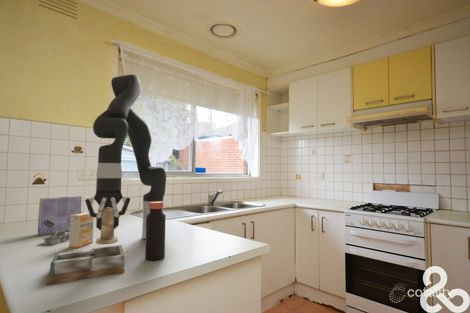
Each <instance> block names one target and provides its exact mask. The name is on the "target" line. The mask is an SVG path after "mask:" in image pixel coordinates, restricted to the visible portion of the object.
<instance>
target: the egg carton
mask: <svg viewBox="0 0 470 313" xmlns="http://www.w3.org/2000/svg"><path fill="white" fill-rule="evenodd" d="M69 234H70V232H67V233H66V232H62V231H61V230H59V231H56V232H55V233H52V234H49V235H48V236H46V237H42V240H43V245H49V244H50V245H52V246H54V245H60V244H61V243H64V242H66V241H69ZM59 243H60V244H59Z"/></svg>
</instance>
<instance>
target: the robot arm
mask: <svg viewBox="0 0 470 313" xmlns="http://www.w3.org/2000/svg"><path fill="white" fill-rule="evenodd" d="M110 83H111V88H112V92H113V94H114V98H113V99H112V100H111V101H110V103H109V104H108V106H107V109H106V110H104V111H103V112H101V113H100V114H99V115H98V116H97V117H96V118H95V120H94V122H93V124H92V125H93V126H92V130H93V134H94V135H95V136H96V137H97V138H100V139H114V140H113V142H112V143H110V144H109V143H108V144H105V145H101V146H99V148H98V153H97V154H98V157H97V158H98V160H97V169H96V175H95V176H96V183H95V184H96V186H95V187H96V188H95V191H96V192H95V194H94V196H92V197H89V198H86V199H85V206H86V207H87V210H88V213H90V216H91V217H94V219H95V218H96V219H95V220H96V223H95V224H96V225H95V227H96V229H98V231H101V214H102V211H103V208H107V207H110V208H113V210H114V213H115V217H114V230H115V229H117V227H119V224H120V223H119V222H120V217H121V216H123V215H125V214H126V212H127V209H128V207H129V203H130V201H131V197H129V196H124V195H123V193H122V177H123V171H122V169H123V168H122V153H123V147H124V144H125V140H126V137H127V135H128V138H129V142H130V144H131V147H132V150H133V154H134V157H135V162H136V167H137V172H138V176H139V180H140V182H141V184H143V185H144V186H146V187H147V186H148V187H150V190H149V192H147V193H145V194H143V196H142V199H143V200H142V226H141V228H142V229H141V231H142V232H141V236H142V237H141V239H143V240H146V217H147V215H148V214H149V213H150V210H149V203H150V202H156V201H159V202H163V203H164V198H165V193H166V184H167V183H166V182H167V173H166V171H165V169H164V168H163V166H162V167H161V166H152V164H151V162H150V157H149V155H150V154H149V153H150V150H151V145H152V135H151V131H150V128H149V125H148V124H147V122H146V121H145V120H144V119H143V118H142V117H141V116H140V115H139V114H138V113H137V112H135V111H134V109H133V108H132V106H133V105H134V103H135V102H136V101H137V100H138V98H139V97H140V95H141V93H142V89H143V88H142V83H141V80H140V79H139V77H138V76H137V75H136V74H125V75H120V76H115V77H113V78H111V82H110ZM94 201H95V202H96V203H97V204H98V205H99V207H98V210H97V212H95V211H94V207H93V204H94ZM120 201H122V203H123V205H122V207H121V210H120V211H119V210H118V206H117V205H118V204H119V203H120ZM162 209H163V210H162V212H163V213H164V207H163V208H162Z"/></svg>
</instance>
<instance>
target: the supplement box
mask: <svg viewBox="0 0 470 313" xmlns="http://www.w3.org/2000/svg"><path fill="white" fill-rule="evenodd" d="M94 219H95V217H91V216H90V213H89V211H88V212H81V213H80V214H75V215H70V231H69V240H68V248H75V249H76V248H77V249H78V248H81V247H84V246H86V245H89V244H92V243H93V242H94V240H93V239H94Z"/></svg>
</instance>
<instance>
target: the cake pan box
mask: <svg viewBox="0 0 470 313" xmlns="http://www.w3.org/2000/svg"><path fill="white" fill-rule="evenodd" d="M82 200H83V197H82V196H81V195H77V196H76V195H75V196H59V197H45V198H44V197H42V198H39V207H38V220H37V222H38V223H37V235H39V236H45V235H51V234H54V233H55V232H56V231H59V230H61V231H62V232H65V233H66V232H70V215H75V214H80V213H82V204H83V203H82V202H83V201H82Z"/></svg>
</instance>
